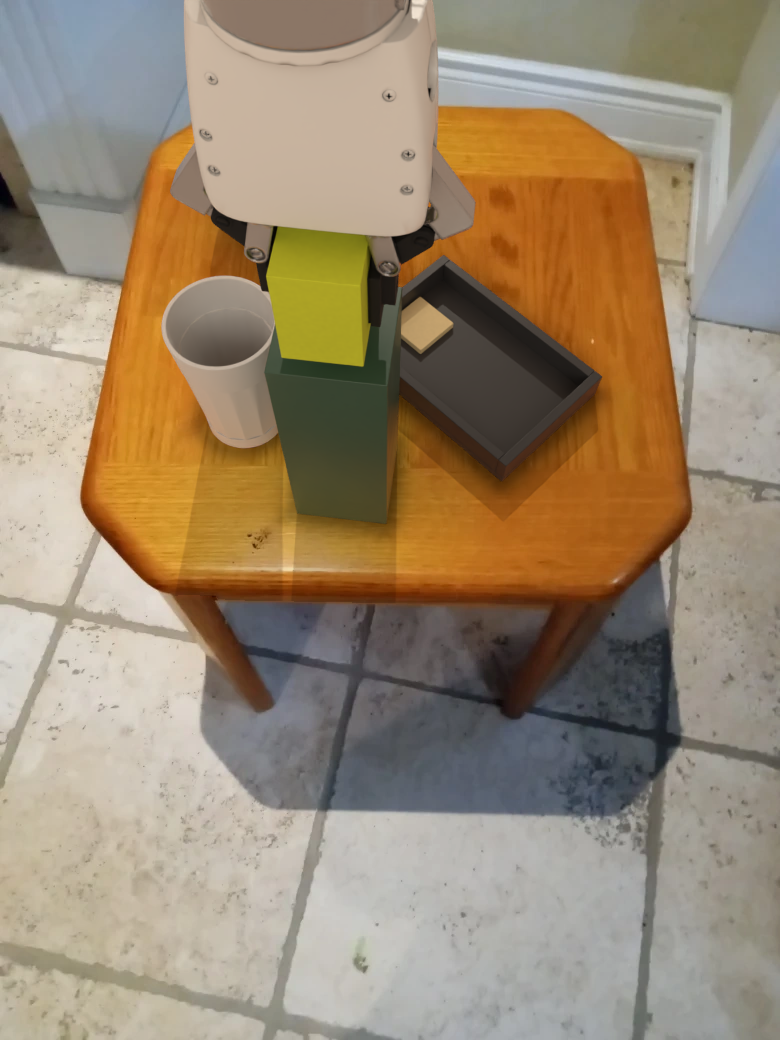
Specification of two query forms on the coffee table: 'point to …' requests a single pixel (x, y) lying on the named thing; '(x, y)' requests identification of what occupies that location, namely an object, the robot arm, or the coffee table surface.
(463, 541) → the coffee table surface
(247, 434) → the cup
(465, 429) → the pan
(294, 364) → the tall green box
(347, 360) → the yellow-green rectangular block
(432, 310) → the beige flat square block
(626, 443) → the coffee table surface
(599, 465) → the coffee table surface
